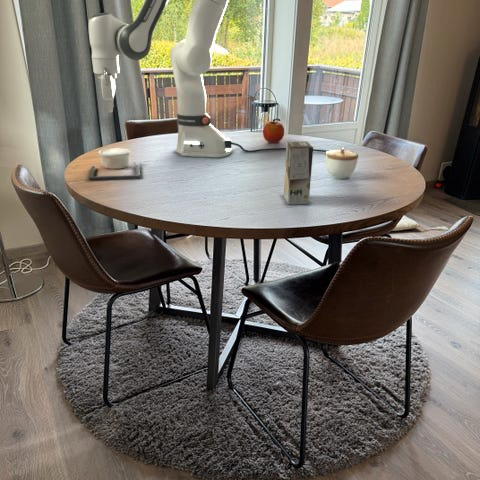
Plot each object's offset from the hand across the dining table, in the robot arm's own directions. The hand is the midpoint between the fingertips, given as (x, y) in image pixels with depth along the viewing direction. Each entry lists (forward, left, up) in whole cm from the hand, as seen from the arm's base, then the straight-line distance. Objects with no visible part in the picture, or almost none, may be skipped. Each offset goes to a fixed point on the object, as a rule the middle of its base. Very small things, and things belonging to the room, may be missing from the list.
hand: (110, 110), depth 179 cm
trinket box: (-84, -7, -18) cm, 86 cm away
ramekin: (-5, +9, -18) cm, 20 cm away
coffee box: (-76, +24, -18) cm, 81 cm away
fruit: (-47, -53, -18) cm, 73 cm away
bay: (-10, +18, -17) cm, 27 cm away
